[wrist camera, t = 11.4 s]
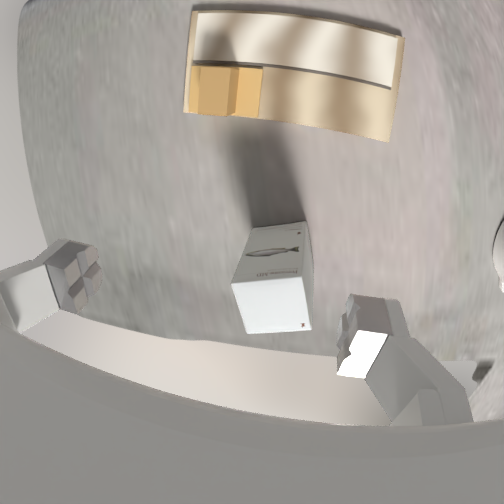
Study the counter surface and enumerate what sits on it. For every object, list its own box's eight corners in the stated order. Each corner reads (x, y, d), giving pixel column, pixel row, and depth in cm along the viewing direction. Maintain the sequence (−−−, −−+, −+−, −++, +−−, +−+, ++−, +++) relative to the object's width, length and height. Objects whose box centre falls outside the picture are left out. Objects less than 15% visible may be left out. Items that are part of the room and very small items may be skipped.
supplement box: (307, 218, 39) (305, 275, 28) (314, 267, 42) (313, 332, 32) (251, 226, 41) (228, 282, 30) (262, 272, 44) (246, 336, 33)
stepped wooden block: (263, 69, 29) (256, 66, 25) (258, 117, 32) (251, 121, 28) (193, 66, 30) (177, 64, 26) (190, 111, 33) (174, 115, 29)
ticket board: (402, 39, 25) (406, 37, 24) (386, 141, 32) (389, 143, 31) (194, 12, 27) (190, 10, 26) (186, 111, 34) (181, 113, 33)
